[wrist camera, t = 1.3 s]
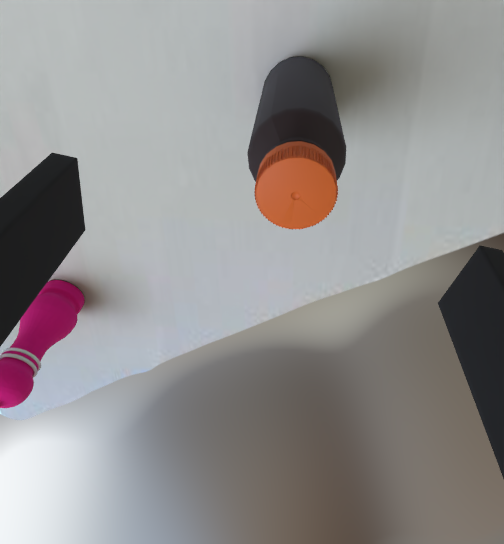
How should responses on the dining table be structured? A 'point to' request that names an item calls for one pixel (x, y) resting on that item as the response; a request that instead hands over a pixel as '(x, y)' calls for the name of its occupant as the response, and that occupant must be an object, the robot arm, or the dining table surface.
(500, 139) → the dining table surface
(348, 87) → the dining table surface
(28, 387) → the pepper mill
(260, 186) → the bottle
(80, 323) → the dining table surface
